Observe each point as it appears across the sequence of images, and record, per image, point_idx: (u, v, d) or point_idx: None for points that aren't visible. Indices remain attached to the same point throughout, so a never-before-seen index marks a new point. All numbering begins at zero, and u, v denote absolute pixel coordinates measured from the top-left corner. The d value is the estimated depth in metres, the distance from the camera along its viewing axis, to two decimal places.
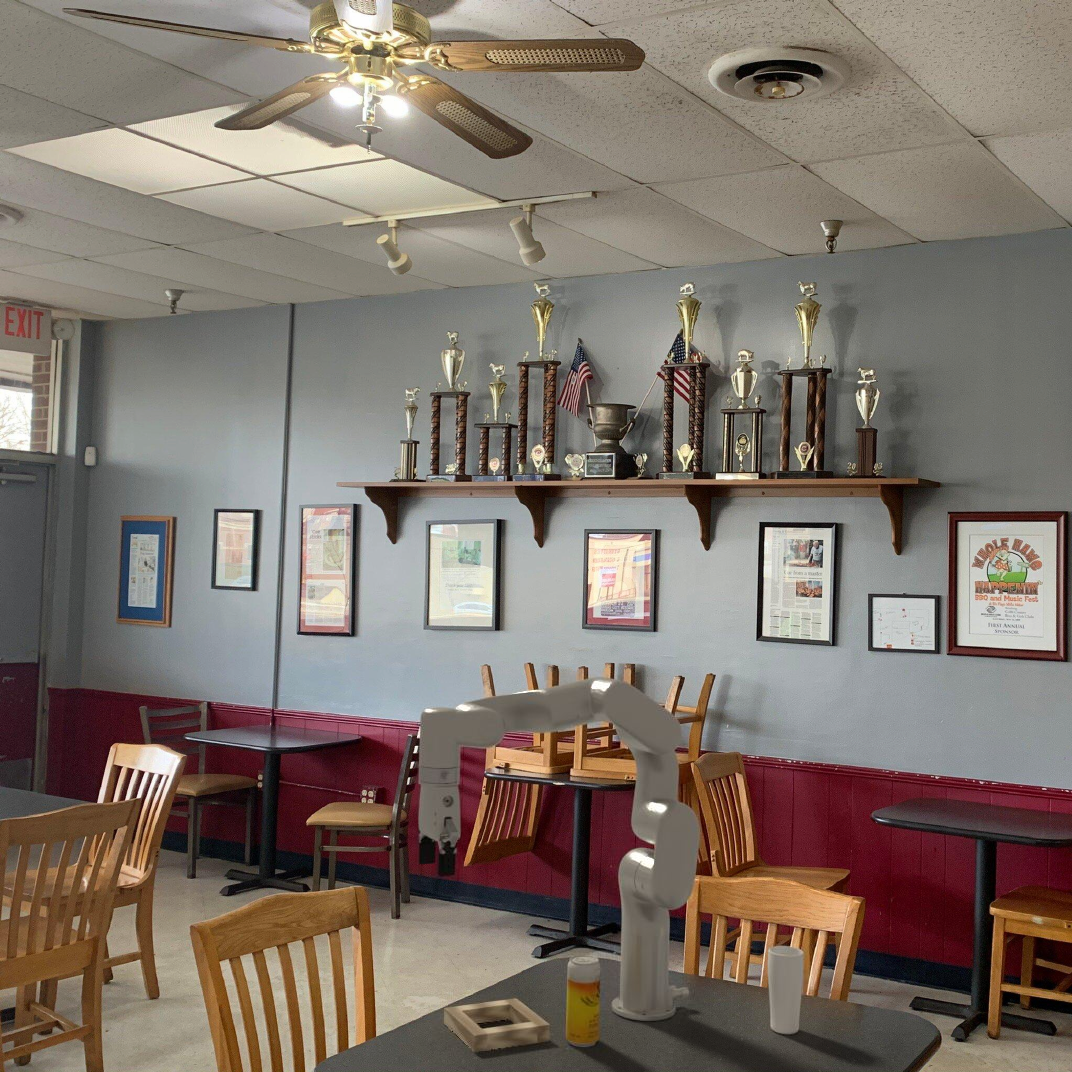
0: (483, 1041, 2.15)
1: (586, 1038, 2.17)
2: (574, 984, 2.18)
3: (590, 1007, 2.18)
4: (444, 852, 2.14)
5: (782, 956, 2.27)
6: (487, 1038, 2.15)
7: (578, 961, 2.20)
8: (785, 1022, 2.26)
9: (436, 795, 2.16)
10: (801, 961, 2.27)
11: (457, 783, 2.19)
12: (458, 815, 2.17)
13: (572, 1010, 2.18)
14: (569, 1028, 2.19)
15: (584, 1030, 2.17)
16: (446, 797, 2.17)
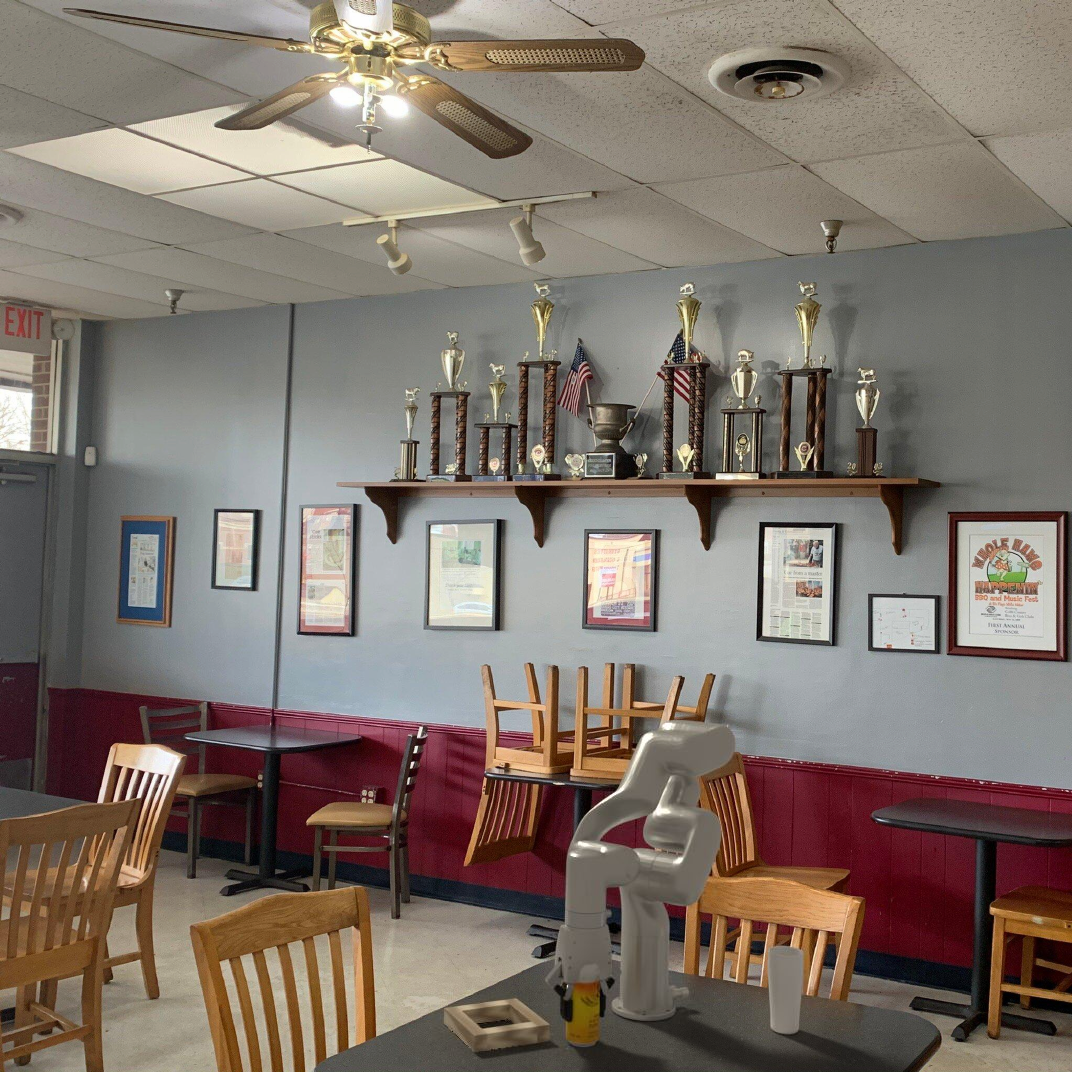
0: (483, 1041, 2.15)
1: (586, 1038, 2.17)
2: (574, 984, 2.18)
3: (590, 1007, 2.18)
4: None
5: (782, 956, 2.27)
6: (487, 1038, 2.15)
7: None
8: (785, 1022, 2.26)
9: (608, 935, 2.21)
10: (801, 961, 2.27)
11: None
12: None
13: None
14: (569, 1028, 2.19)
15: (584, 1030, 2.17)
16: None
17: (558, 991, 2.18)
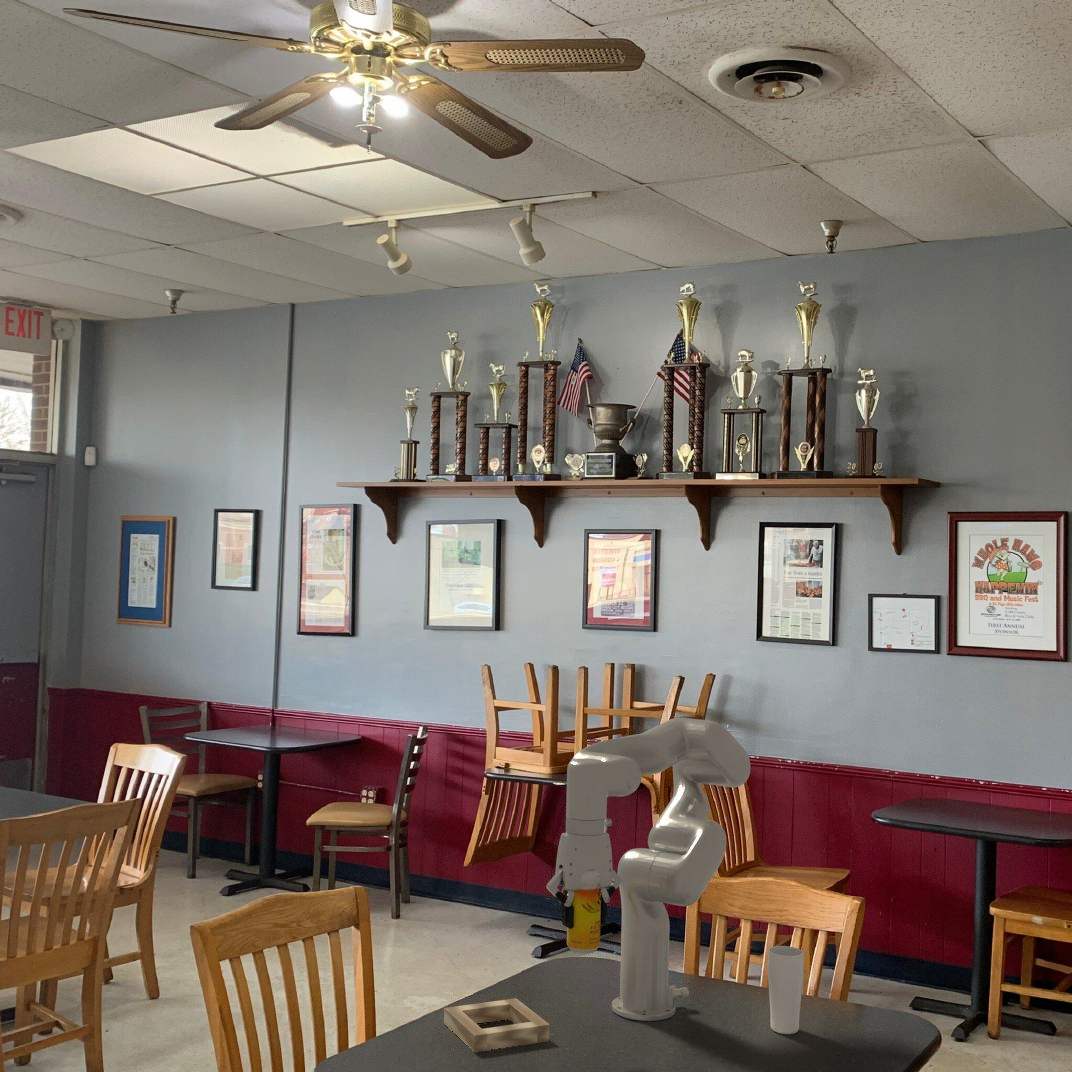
0: (483, 1041, 2.15)
1: (587, 944, 2.18)
2: (575, 891, 2.19)
3: (592, 913, 2.19)
4: None
5: (782, 956, 2.27)
6: (487, 1038, 2.15)
7: None
8: (785, 1022, 2.26)
9: (609, 842, 2.22)
10: (801, 961, 2.27)
11: None
12: None
13: None
14: (571, 935, 2.19)
15: (585, 936, 2.18)
16: None
17: (559, 897, 2.18)
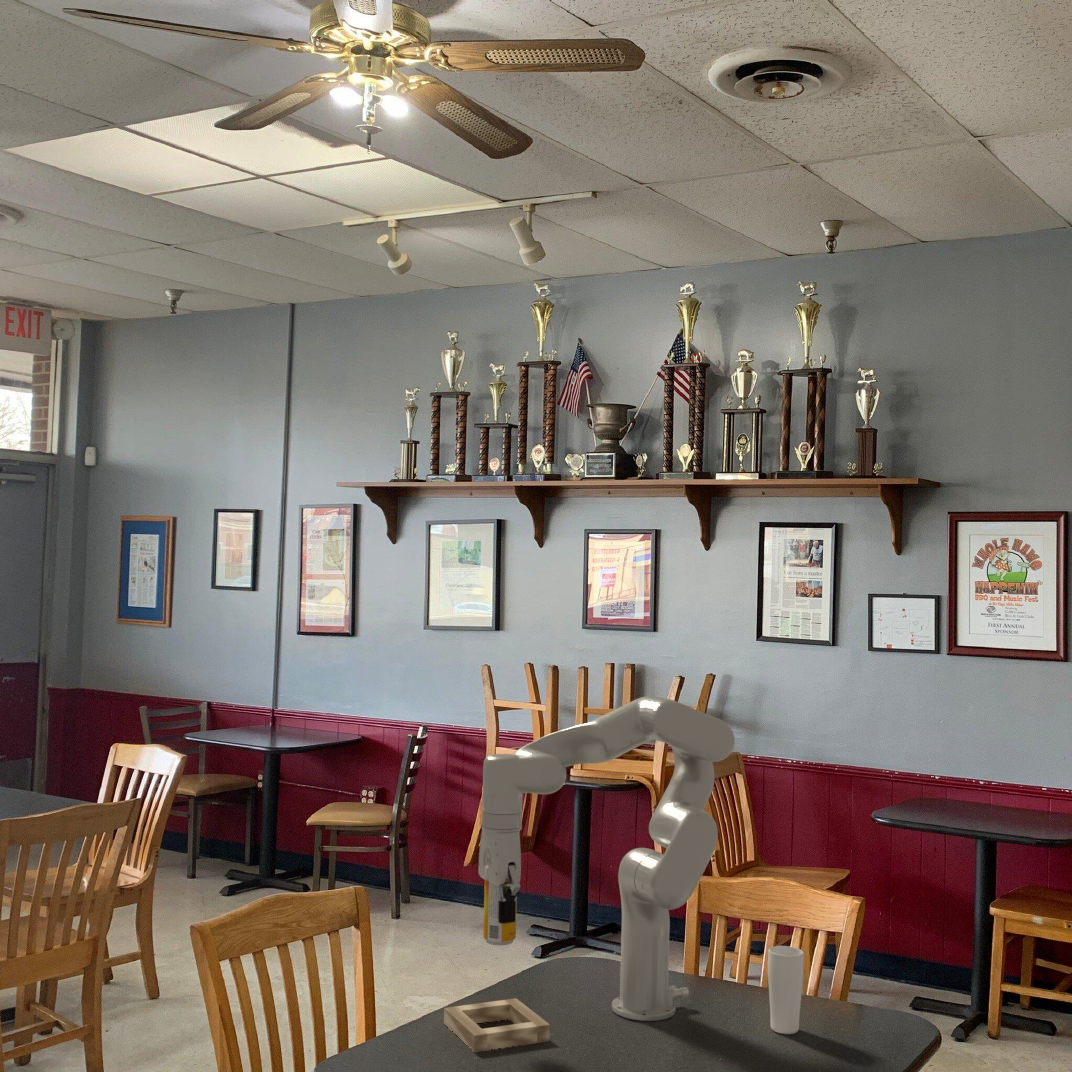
0: (483, 1041, 2.15)
1: None
2: None
3: None
4: None
5: (782, 956, 2.27)
6: (487, 1038, 2.15)
7: None
8: (785, 1022, 2.26)
9: None
10: (801, 961, 2.27)
11: None
12: None
13: None
14: (509, 929, 2.22)
15: None
16: None
17: (516, 894, 2.20)
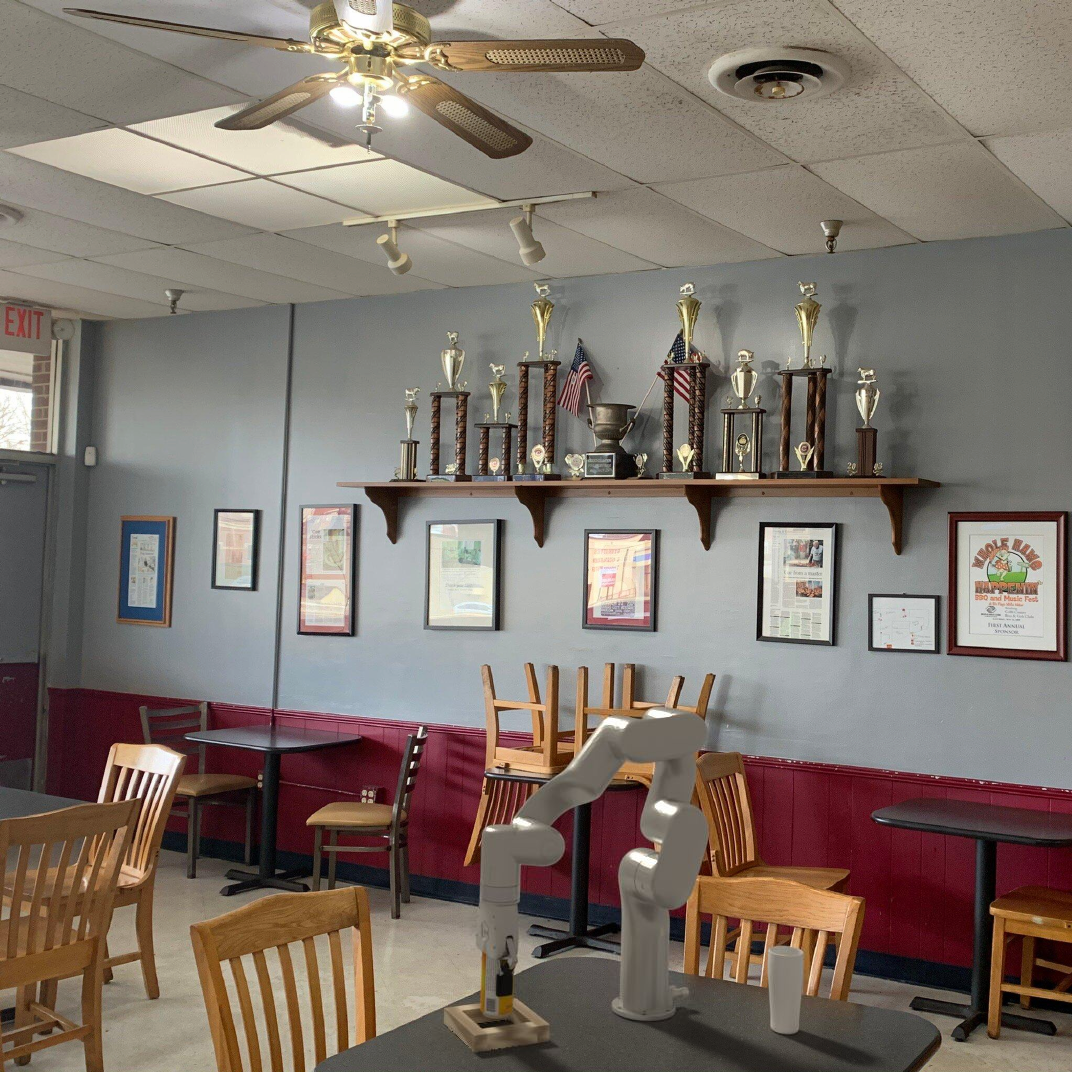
0: (483, 1041, 2.15)
1: None
2: None
3: None
4: None
5: (782, 956, 2.27)
6: (487, 1038, 2.15)
7: None
8: (785, 1022, 2.26)
9: None
10: (801, 961, 2.27)
11: None
12: None
13: None
14: (506, 1002, 2.22)
15: None
16: None
17: None
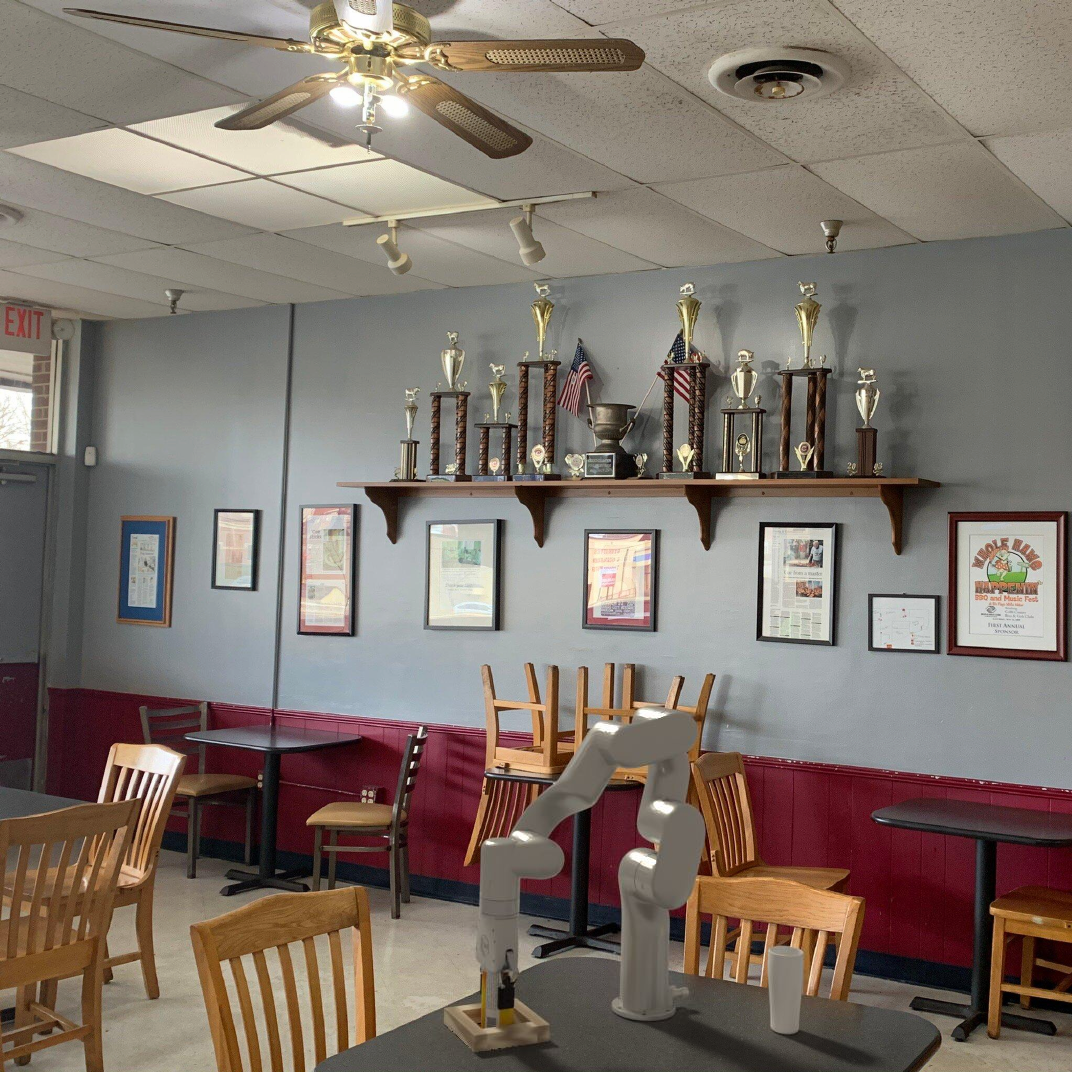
0: (483, 1041, 2.15)
1: None
2: None
3: None
4: None
5: (782, 956, 2.27)
6: (487, 1038, 2.15)
7: None
8: (785, 1022, 2.26)
9: None
10: (801, 961, 2.27)
11: None
12: None
13: None
14: (506, 1021, 2.22)
15: (513, 1015, 2.24)
16: None
17: (515, 980, 2.19)
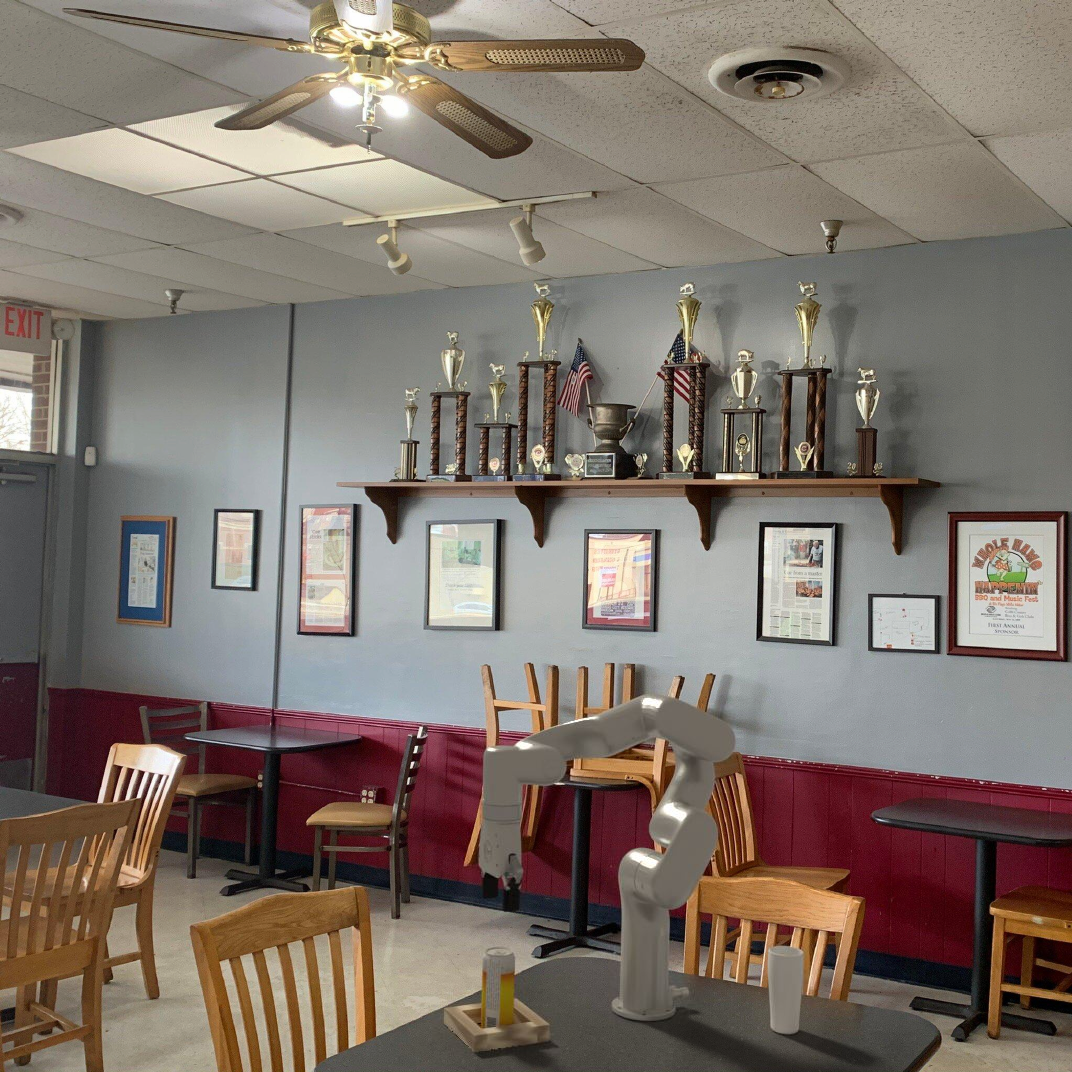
0: (483, 1041, 2.15)
1: None
2: (511, 975, 2.23)
3: None
4: None
5: (782, 956, 2.27)
6: (487, 1038, 2.15)
7: (503, 954, 2.23)
8: (785, 1022, 2.26)
9: None
10: (801, 961, 2.27)
11: None
12: None
13: (509, 1001, 2.22)
14: (507, 1021, 2.22)
15: (513, 1015, 2.24)
16: None
17: (520, 882, 2.19)
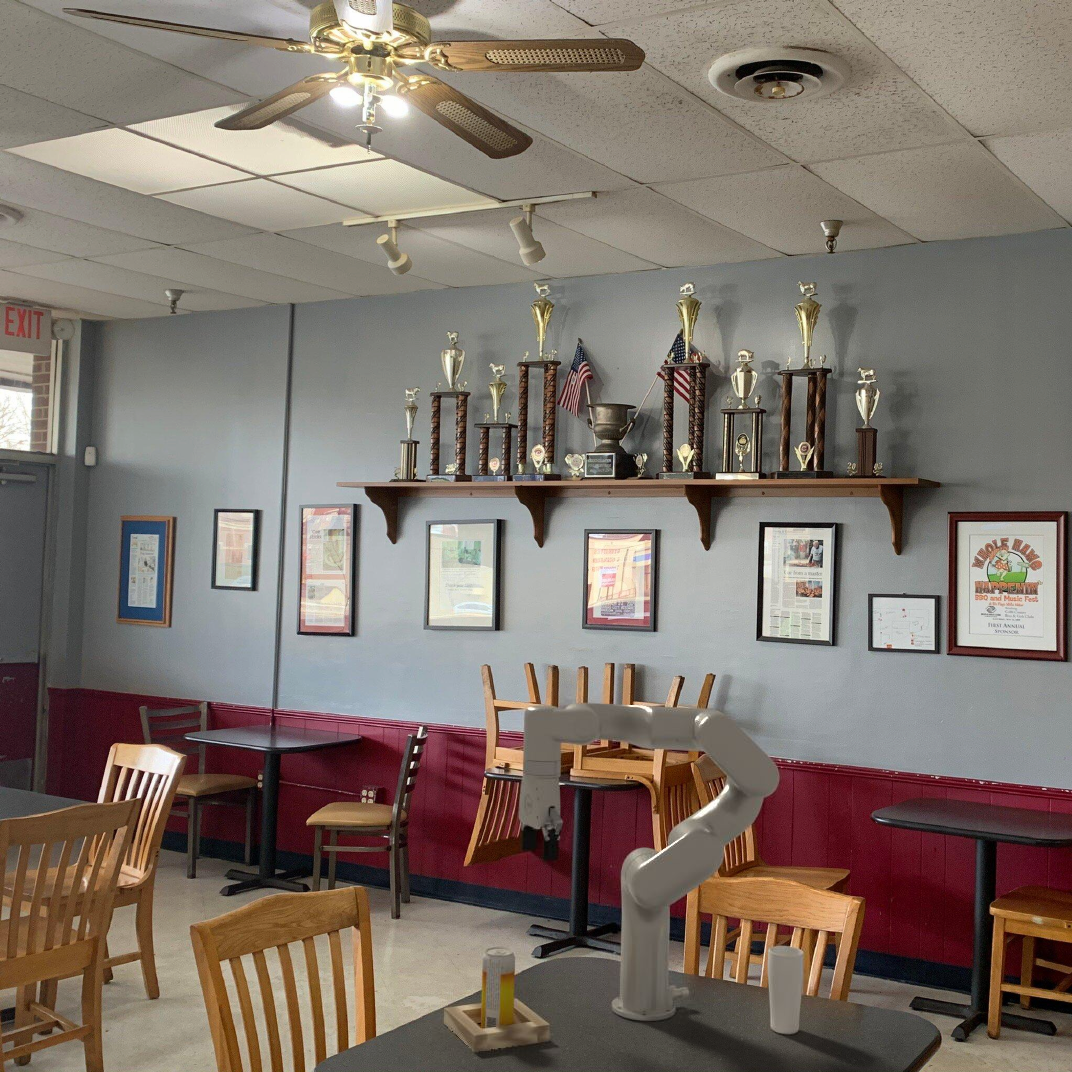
0: (483, 1041, 2.15)
1: None
2: (511, 975, 2.23)
3: None
4: None
5: (782, 956, 2.27)
6: (487, 1038, 2.15)
7: (503, 954, 2.23)
8: (785, 1022, 2.26)
9: None
10: (801, 961, 2.27)
11: None
12: None
13: (509, 1001, 2.22)
14: (507, 1021, 2.22)
15: (513, 1015, 2.24)
16: None
17: None
